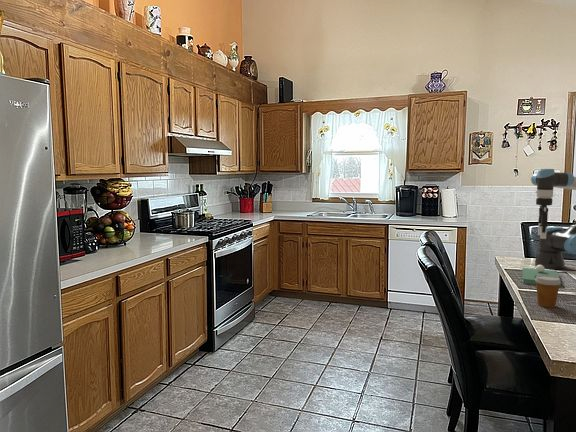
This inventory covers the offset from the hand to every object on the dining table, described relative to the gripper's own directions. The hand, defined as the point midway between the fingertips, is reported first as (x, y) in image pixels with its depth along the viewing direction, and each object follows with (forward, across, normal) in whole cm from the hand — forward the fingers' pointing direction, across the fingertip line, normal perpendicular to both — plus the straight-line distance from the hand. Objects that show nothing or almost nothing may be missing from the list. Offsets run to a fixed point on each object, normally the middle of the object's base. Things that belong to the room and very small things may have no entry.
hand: (541, 236), depth 236 cm
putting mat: (+20, +13, -1) cm, 24 cm away
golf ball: (+16, +7, 0) cm, 17 cm away
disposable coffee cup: (+21, +60, -2) cm, 64 cm away
